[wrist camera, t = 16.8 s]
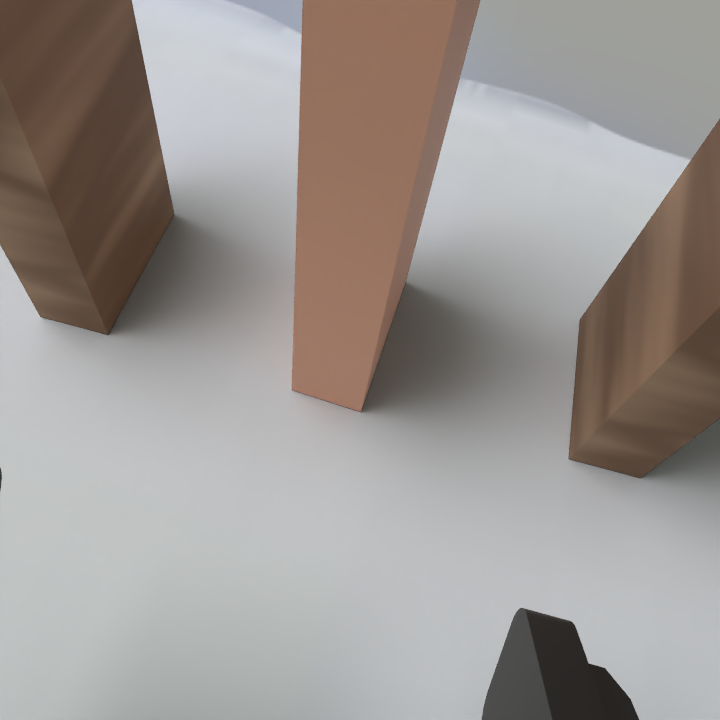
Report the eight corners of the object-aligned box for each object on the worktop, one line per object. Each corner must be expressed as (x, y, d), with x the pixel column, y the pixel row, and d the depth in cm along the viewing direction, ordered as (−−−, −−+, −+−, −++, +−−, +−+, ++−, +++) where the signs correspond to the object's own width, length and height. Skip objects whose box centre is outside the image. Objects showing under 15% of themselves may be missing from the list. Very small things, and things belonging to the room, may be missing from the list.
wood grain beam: (174, 214, 26) (69, -308, 13) (108, 334, 23) (-114, -196, 10) (114, 198, 26) (-47, -336, 13) (40, 316, 23) (-266, -233, 10)
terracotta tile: (405, 281, 25) (531, -195, 13) (360, 412, 22) (467, -44, 9) (344, 263, 26) (408, -226, 13) (292, 389, 22) (305, -89, 10)
